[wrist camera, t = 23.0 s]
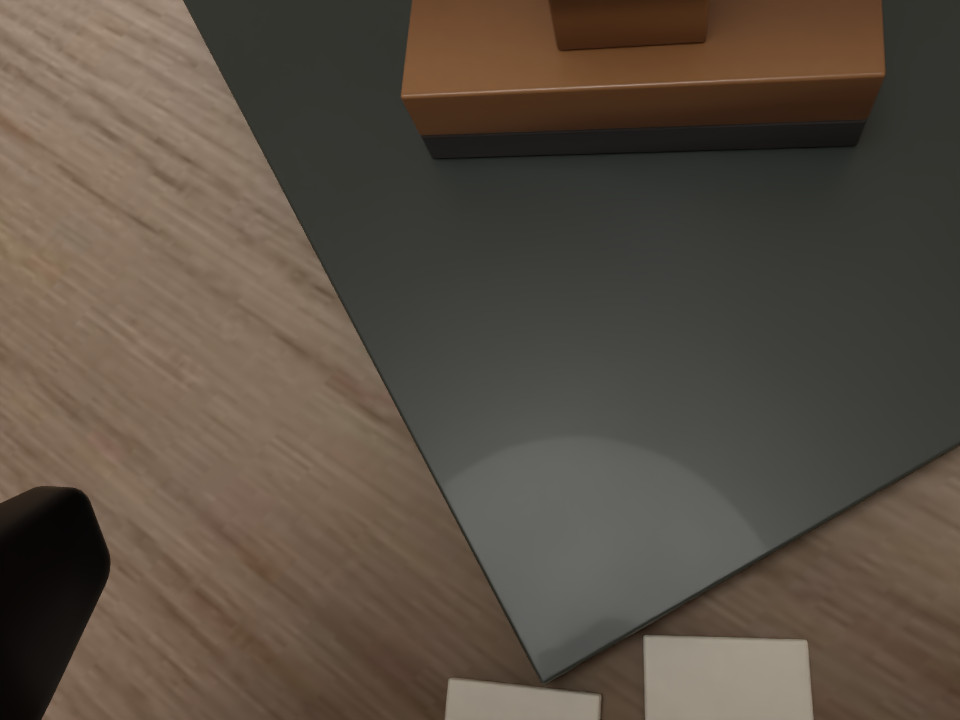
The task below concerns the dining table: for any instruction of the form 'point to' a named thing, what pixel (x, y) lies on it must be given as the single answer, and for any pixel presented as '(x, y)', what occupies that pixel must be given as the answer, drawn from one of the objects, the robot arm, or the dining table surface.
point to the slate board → (625, 314)
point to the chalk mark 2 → (726, 678)
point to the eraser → (640, 75)
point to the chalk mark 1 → (517, 702)
